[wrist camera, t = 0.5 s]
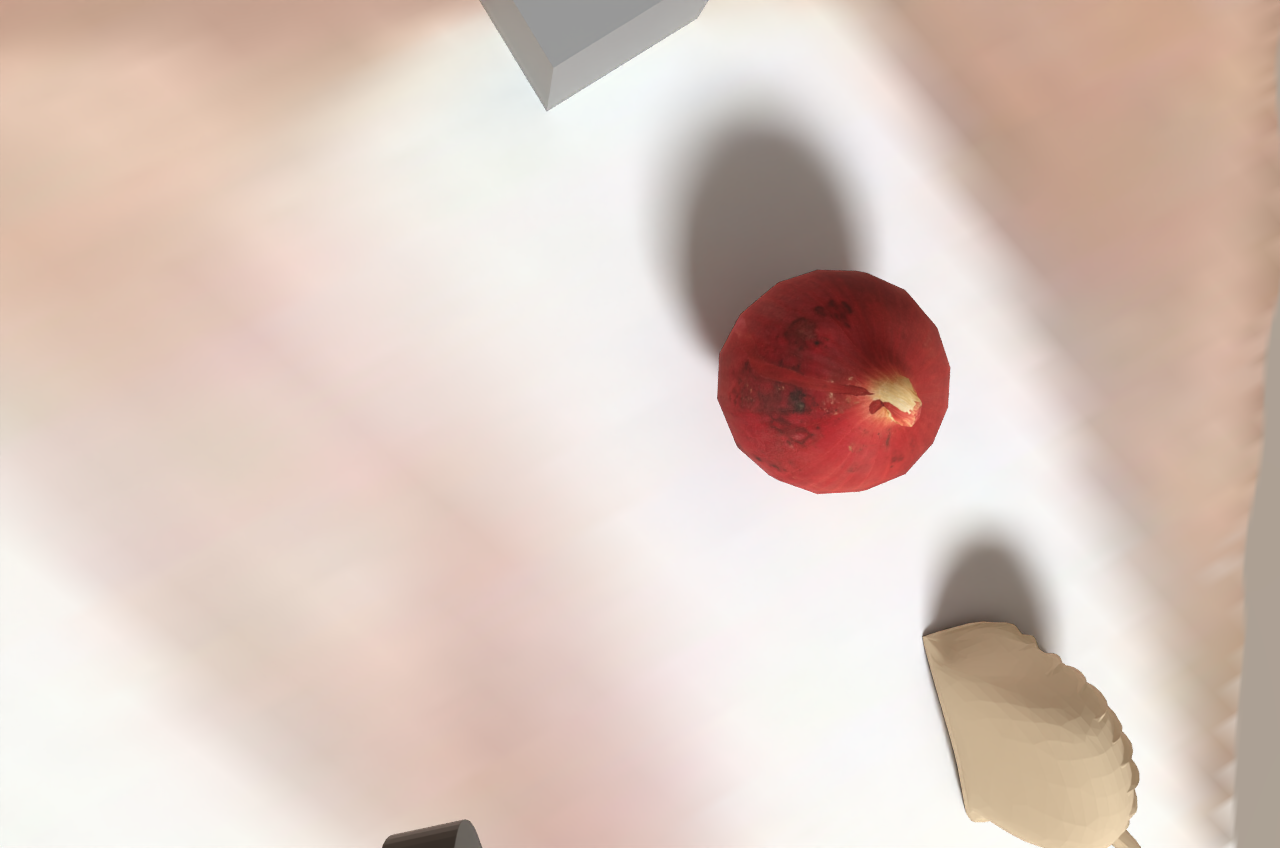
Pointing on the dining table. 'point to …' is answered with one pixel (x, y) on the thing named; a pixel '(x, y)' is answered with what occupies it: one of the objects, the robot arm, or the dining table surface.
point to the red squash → (834, 381)
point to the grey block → (582, 37)
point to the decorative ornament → (1032, 739)
